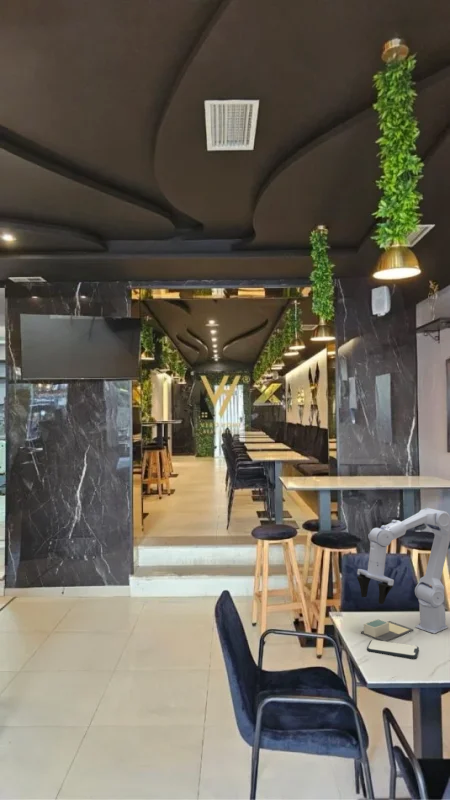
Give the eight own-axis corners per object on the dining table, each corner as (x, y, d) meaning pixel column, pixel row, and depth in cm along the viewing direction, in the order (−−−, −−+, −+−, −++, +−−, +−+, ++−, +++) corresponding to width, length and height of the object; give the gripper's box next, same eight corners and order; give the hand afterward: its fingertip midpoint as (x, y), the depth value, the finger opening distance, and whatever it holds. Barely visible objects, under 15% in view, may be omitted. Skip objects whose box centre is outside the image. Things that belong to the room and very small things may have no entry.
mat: (389, 622, 200) (389, 620, 200) (413, 630, 192) (413, 628, 192) (360, 633, 190) (360, 631, 190) (384, 642, 182) (384, 640, 182)
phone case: (366, 653, 175) (416, 661, 168) (366, 648, 175) (416, 656, 168) (371, 643, 183) (419, 650, 176) (371, 638, 183) (419, 645, 176)
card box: (377, 627, 194) (377, 618, 194) (389, 631, 190) (389, 622, 190) (364, 633, 189) (363, 623, 189) (375, 637, 185) (375, 627, 185)
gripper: (353, 557, 192) (349, 594, 191) (386, 567, 181) (382, 607, 179) (366, 557, 196) (361, 593, 195) (399, 567, 185) (394, 606, 183)
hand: (372, 600), depth 187 cm, fingers open, 7 cm apart
